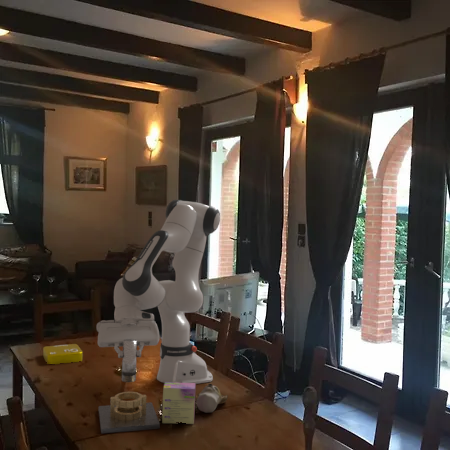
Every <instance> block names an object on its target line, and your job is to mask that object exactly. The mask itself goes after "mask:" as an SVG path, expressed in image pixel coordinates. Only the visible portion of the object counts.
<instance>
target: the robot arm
mask: <svg viewBox="0 0 450 450" xmlns="http://www.w3.org/2000/svg"><path fill="white" fill-rule="evenodd" d="M220 222H221V213H220V211H219V209H218V208H217V207H214V206H212V205H210V206H209V205H206V204H204V203H200V202H197V201H188V200H182V199H172V201H169V203H168V205H167V206H166V209H165V221H164V222H163V225H162V227H161V229H159V230H157V231H155V232H154V233H153V234H152V235H151V236H150V238H149V239H148V241H147V242H146V244H145V245H144V247H143V248H142V249H141V250H140V253H139V254H138V255H137V258H136V259H135V260H134V262H132V264H131V265H130V266H129V267H128V268H127V269H126V271H125V272H124V274H123V275H122V277H121V278H119V279H118V280H117V281H116V283H115V286H114V289H113V305H114V307H115V308H114V314H113V315H114V319H109V320H104V319H103V320H100V321H99V322H97V323H96V332H98V335H97V346H99V348H113V347H114V350H115V352H116V353H117V358H118V359H123V350H121V349H120V347H123V340H125V339H135V340H137V347H138V348H139V349H137V355H136V358H142V352H143V349H144V347H145V346H147V347H148V346H157V345H158V344H159V342H160V339H161V343H160V347H159V348H160V349H159V357H160V363H159V368H158V371H157V376H156V380H157V381H159V382H161V383H163V384H165V382H170V383H195V385H197V384H205V383H211V382H212V381H213V380H214V379H213V374H212V373H211V371H209V370H208V367H207V363H206V361H205V360H204V359H203V358H202V357H200V356H199V355H197V353H196V352H198V350H197V349H198V348H197V346H195V345H194V344H192V343H191V342H190V331H191V329H190V328H191V326H190V322H189V321H188V319H187V317H186V316H185V313H195V312H198V311H199V310H200V309H201V308H202V306H203V304H204V303H203V302H204V294H203V292H202V290H201V287H200V284H199V272H200V267H201V263H202V260H203V257H204V252H205V250H206V249H205V248H206V242H207V237H208V236H209V235H210V234H213V233H214V232H216V230H217V229H218V227H219V225H220ZM162 252H166V253H174V255H173V259H172V267H173V269H174V271H175V280H170V279H168V280H159V279H157V278H156V277H155V276H154V275H153V266H154V264H155V263H156V261H157V260H158V258H159V256H160V255H161V253H162ZM153 308H157V309H158V312H159V315H160V320H161V321H160V322H161V338H160V331H159V327H158V324H157V323H156V321H155V315H154V314H153V313H151V312H146V311H145V310H151V309H153Z"/></svg>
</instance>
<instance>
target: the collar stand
mask: <svg viewBox="0 0 450 450" xmlns="http://www.w3.org/2000/svg"><path fill="white" fill-rule="evenodd" d="M129 399H130V400H129ZM98 417H99V426H100V434H113V433H120V432H121V433H125V432H137V431H147V430H148V431H149V430H159V429H160V428H161V427H160V425H161V424H160V421H159V418H158V416H157V413H156V410H155V407H154V405H153V402H151V401H150V402H147V395H146V394H142V393H140V392H137V391H123V392H119V393H117V394H115V395H114V396H111V397H110V404H109V405H99V406H98Z"/></svg>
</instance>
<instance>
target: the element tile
mask: <svg viewBox="0 0 450 450" xmlns="http://www.w3.org/2000/svg"><path fill="white" fill-rule="evenodd" d="M42 351H43V353H42V356H43V358H44V359H43V360H44V361H45V362H47V363H46V364H47V365H48V364H55V365H61V364H60V363H64V364H70V363H71V362H73V363H80V362H79V361H81V362H83V357H84V354H83V353H84V352H83V350H82V349H81V348H80V347H79V345H78V344H76V343H72V344H71V343H69V344H59V345H50V346H49V345H48V346H44V347H42ZM71 364H72V363H71Z"/></svg>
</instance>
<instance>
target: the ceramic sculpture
mask: <svg viewBox="0 0 450 450" xmlns="http://www.w3.org/2000/svg"><path fill="white" fill-rule="evenodd" d="M197 396H198V397H197V398H196V399H195V404H196V406H197V409H198V410H199V411H201V412H203V413H205V414H206V413H207V414H208V413H213V412H214V411H215V410H216V408H217V407H218V405H220V404H223V403H225V402H227V400H228V397H229V395H228V394H226V395H224V394H222V393H221V391H220V389H219V388H218V386H216V385H213V384H212V383H209V384H208V385H205V387H204V388H203V389H202V390H201V392H200V393H198V394H197Z"/></svg>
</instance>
